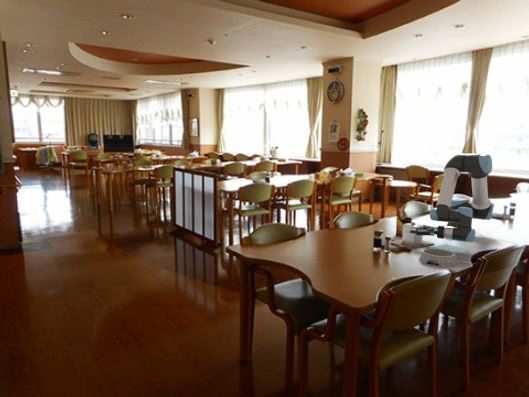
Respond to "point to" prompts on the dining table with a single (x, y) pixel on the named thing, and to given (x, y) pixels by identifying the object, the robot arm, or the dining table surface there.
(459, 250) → the teal mat
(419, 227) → the steel cover
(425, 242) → the walnut board
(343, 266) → the dining table surface
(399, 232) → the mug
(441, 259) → the dog bowl
